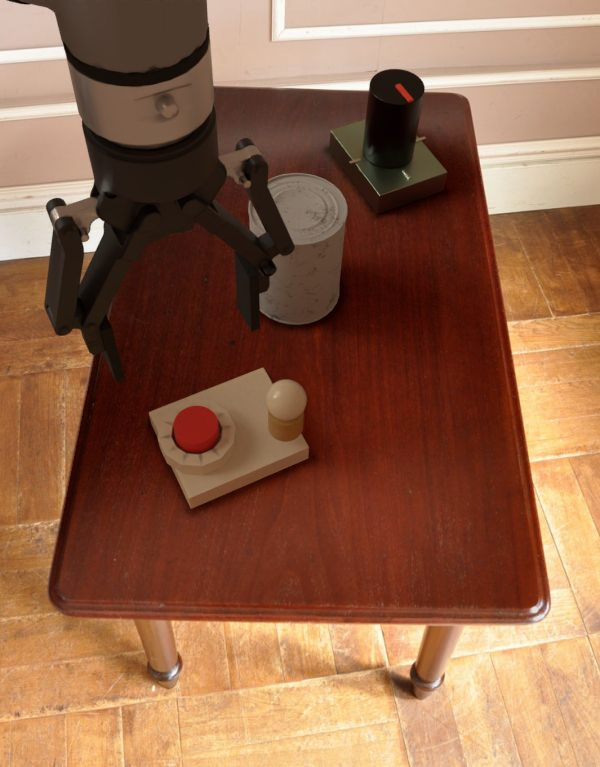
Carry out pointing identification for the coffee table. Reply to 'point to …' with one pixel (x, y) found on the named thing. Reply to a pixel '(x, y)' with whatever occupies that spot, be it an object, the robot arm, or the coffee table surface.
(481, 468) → the coffee table surface
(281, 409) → the led lamp
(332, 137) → the panel
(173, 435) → the beige button base
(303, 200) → the unlabeled tin can
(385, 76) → the dimmer knob
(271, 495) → the coffee table surface
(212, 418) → the lamp button
